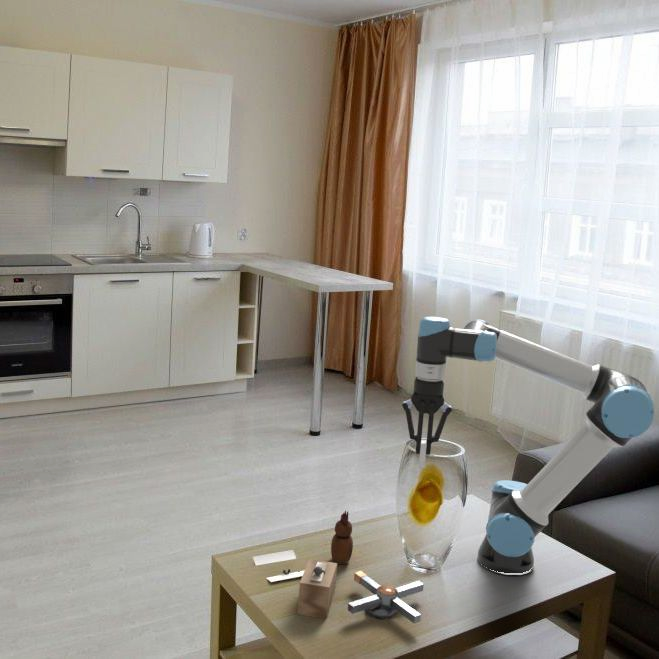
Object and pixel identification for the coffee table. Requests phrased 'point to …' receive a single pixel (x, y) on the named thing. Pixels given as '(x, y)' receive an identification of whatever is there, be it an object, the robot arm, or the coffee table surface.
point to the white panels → (276, 558)
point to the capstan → (385, 599)
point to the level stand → (317, 588)
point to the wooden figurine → (342, 541)
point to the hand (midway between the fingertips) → (421, 465)
